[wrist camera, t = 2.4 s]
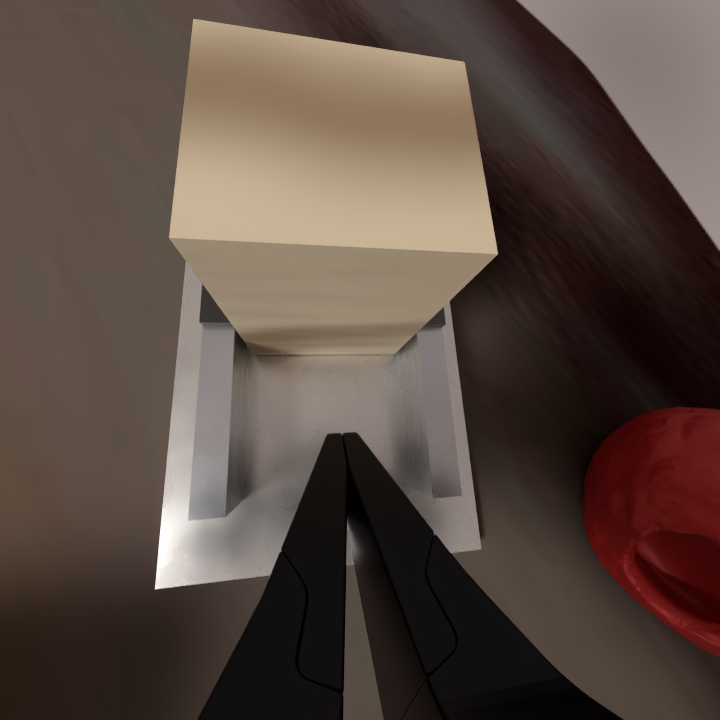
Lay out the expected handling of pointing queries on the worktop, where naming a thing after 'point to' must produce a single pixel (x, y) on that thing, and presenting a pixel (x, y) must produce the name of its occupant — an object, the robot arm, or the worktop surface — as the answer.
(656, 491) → the pomegranate
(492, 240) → the block
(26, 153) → the worktop surface
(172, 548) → the chute
